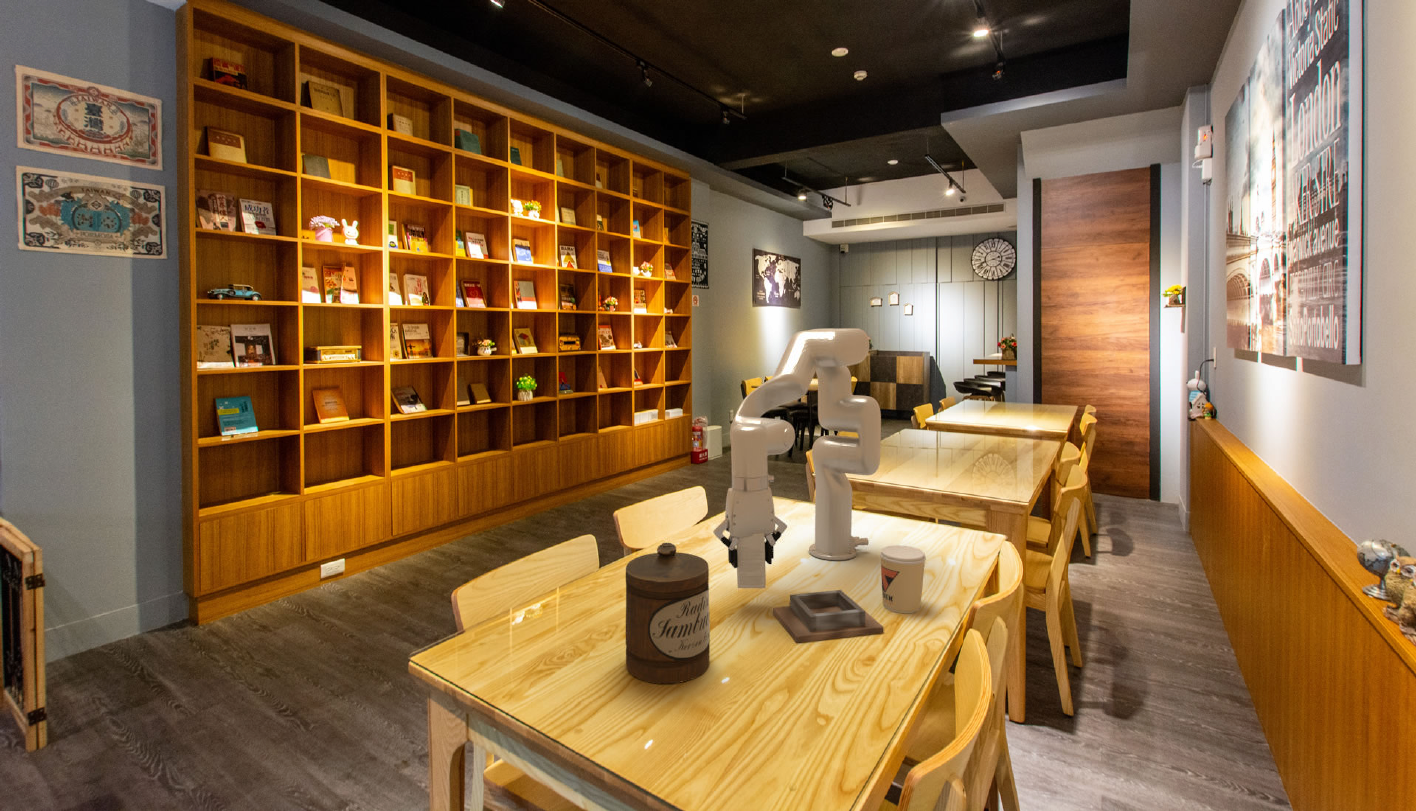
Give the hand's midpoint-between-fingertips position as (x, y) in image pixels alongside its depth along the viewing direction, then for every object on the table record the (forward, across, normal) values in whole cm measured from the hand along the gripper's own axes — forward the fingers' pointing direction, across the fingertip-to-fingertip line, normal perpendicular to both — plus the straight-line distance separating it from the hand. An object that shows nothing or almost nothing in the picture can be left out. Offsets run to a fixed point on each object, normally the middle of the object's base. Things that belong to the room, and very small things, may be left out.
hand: (751, 563), depth 144 cm
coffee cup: (+10, -31, +8) cm, 34 cm away
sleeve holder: (+10, -12, +12) cm, 19 cm away
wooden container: (+9, +22, +21) cm, 31 cm away
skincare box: (+5, 0, 0) cm, 5 cm away
